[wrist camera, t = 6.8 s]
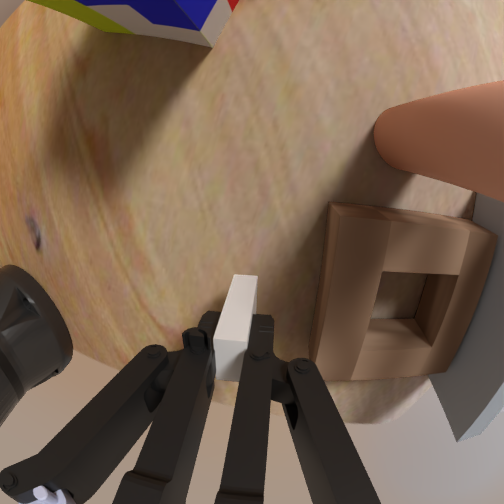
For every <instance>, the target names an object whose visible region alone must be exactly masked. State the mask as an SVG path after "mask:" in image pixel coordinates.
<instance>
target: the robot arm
mask: <svg viewBox="0 0 504 504" xmlns="http://www.w3.org/2000/svg"><path fill="white" fill-rule="evenodd" d="M257 280H258V276H253V275H237V274H234V277H233V280H232V283H231V286H230V289H229V292H228V295H227V298H226V301H225V304H224V307H223V310H222V312H215V311H207V312H206V313H205V314H204V315H202V318H201V320H200V322H199V325H198V327H194V328H190V329H187V330H185V331H184V332H183V334H182V338H183V344H184V349H183V350H180V351H173V352H167V350H166V348H165V347H163V346H161V345H157V344H155V345H149V346H146V347H145V348H143V349H142V350H141V351H140V352H139V353H138V354H137V355H136V356H135V357H134V358H133V359H132V360H131V361H130V362H129V363H128V364H127V365H126V366H125V367H124V368H123V369H122V370H121V371H120V372H119V373H118V374H117V375H116V376H115V377H114V378H113V379H112V380H111V381H110V382H109V383H108V384H107V385H106V386H105V387H104V388H103V389H102V390H101V391H100V392H99V393H98V394H97V395H96V396H95V397H94V398H93V399H92V400H91V401H90V402H89V403H88V404H87V405H86V406H85V407H84V408H83V409H82V410H81V411H80V412H79V413H78V414H77V415H76V416H75V417H74V418H73V419H72V420H71V421H70V422H69V423H68V424H67V425H66V426H65V427H64V428H63V429H62V430H61V431H60V432H59V433H58V434H57V435H56V436H55V437H54V438H53V439H52V440H51V441H50V442H49V443H48V444H47V445H46V446H45V447H44V448H43V449H42V450H41V451H40V452H39V453H38V454H36V455H34V456H32V457H30V458H28V459H25V460H23V461H21V462H18V463H16V464H14V465H11V466H9V467H7V468H5V469H3V470H2V471H1V472H0V488H1V489H2V491H3V492H4V493H6V494H7V495H8V496H10V497H11V498H13V499H14V500H16V501H17V502H18V503H19V504H84V503H85V502H86V501H87V500H89V499H90V498H91V497H92V496H93V495H94V494H95V492H97V490H98V489H99V488H100V487H101V485H102V484H103V483H104V482H105V480H106V479H107V478H108V477H109V475H110V474H111V473H112V472H113V470H114V469H115V468H116V467H117V466H118V464H119V463H120V462H121V461H122V459H123V458H124V457H125V455H126V454H127V453H128V452H129V451H130V449H131V448H132V447H133V445H134V444H135V443H136V441H137V440H138V439H139V438H140V436H141V435H142V434H143V433H144V431H145V430H146V429H147V428H148V426H149V425H150V424H151V422H152V421H153V422H152V425H151V427H150V430H149V432H148V435H147V437H146V440H145V442H144V445H143V447H142V450H141V452H140V455H139V457H138V460H137V462H136V465H135V467H134V469H133V470H131V471H128V472H126V473H125V475H124V476H123V478H122V480H121V483H120V485H119V488H118V490H117V493H116V496H115V498H114V501H113V503H112V504H185V502H186V497H187V493H188V489H189V485H190V481H191V477H192V473H193V469H194V465H195V461H196V457H197V454H198V450H199V446H200V442H201V438H202V434H203V430H204V426H205V422H206V418H207V414H208V410H209V406H210V403H211V399H212V395H213V391H214V378H215V374H216V379H218V380H226V381H236V382H239V386H238V392H237V397H236V403H235V408H234V414H233V419H232V425H231V430H230V436H229V442H228V447H227V453H226V458H225V463H224V468H223V474H222V479H221V484H220V489H219V491H218V493H217V495H216V499H215V503H214V504H263V501H264V482H265V472H266V460H267V447H268V432H269V418H270V403H271V400H273V401H277V402H280V403H282V406H283V410H284V413H285V416H286V420H287V423H288V426H289V429H290V433H291V436H292V439H293V442H294V445H295V449H296V452H297V455H298V458H299V462H300V464H301V468H302V471H303V474H304V477H305V480H306V484H307V487H308V490H309V493H310V496H311V499H312V502H313V504H381V502H380V500H379V498H378V496H377V494H376V491H375V489H374V487H373V485H372V483H371V481H370V478H369V476H368V474H367V472H366V470H365V467H364V466H363V463H362V461H361V459H360V457H359V455H358V453H357V450H356V448H355V446H354V444H353V442H352V440H351V437H350V435H349V433H348V431H347V429H346V427H345V425H344V422H343V420H342V418H341V416H340V414H339V412H338V410H337V408H336V405H335V403H334V401H333V399H332V397H331V395H330V393H329V391H328V389H327V386H326V384H325V382H324V380H323V378H322V376H321V374H320V372H319V370H318V368H317V366H316V364H315V363H314V362H313V361H311V360H309V359H306V358H297V359H293V360H292V361H291V362H285V361H283V360H280V359H279V358H277V357H276V356H275V354H274V353H273V339H274V319H273V318H272V316H271V315H261V314H256V306H257ZM72 355H73V348H72V342H71V338H70V335H69V332H68V330H67V327H66V325H65V323H64V321H63V319H62V317H61V315H60V313H59V311H58V309H57V308H56V306H55V305H54V303H53V302H52V300H51V299H50V297H49V296H48V294H47V293H46V292H45V290H44V289H43V288H42V287H41V286H40V284H39V283H38V282H37V281H36V280H35V279H34V278H33V277H32V276H31V275H30V274H28V273H27V272H26V271H24V270H23V269H21V268H19V267H17V266H15V265H6V266H4V267H2V268H1V269H0V426H1V425H2V424H3V422H4V421H5V419H6V418H7V417H8V415H9V414H10V412H11V411H12V410H13V408H14V407H15V406H16V405H17V403H18V402H19V401H20V399H21V398H22V397H23V396H24V394H25V393H26V392H27V391H28V390H30V389H32V388H34V387H36V386H37V385H39V384H41V383H43V382H45V381H47V380H48V379H50V378H51V377H53V376H56V375H58V374H60V373H61V372H62V371H63V370H64V368H65V367H66V366H67V365H68V364H69V362H70V361H71V359H72Z"/></svg>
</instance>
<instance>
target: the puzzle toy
mask: <svg viewBox="0 0 504 504" xmlns="http://www.w3.org/2000/svg"><path fill="white" fill-rule="evenodd" d="M28 1H31V2H34V3H37V4H40V5H42V6H45V7H48V8H51V9H53V10H56V11H59V12H61V13H64V14H66V15H68V16H71V17H73V18H76V19H78V20H80V21H82V22H85V23H87V24H89V25H91V26H93V27H96V28H98V29H100V30H102V31H104V32H114V33H127V34H137V35H146V36H154V37H160V38H167V39H173V40H178V41H184V42H189V43H193V44H198V45H202V46H207V47H211V48H213V47H214V45H215V43H216V41H217V39H218V37H219V35H220V34H221V32H222V30H223V28H224V26H225V24H226V22H227V20H228V19H229V17H230V15H231V13H232V12H233V10H234V8H235V6H236V5H237V3H238V1H239V0H28Z"/></svg>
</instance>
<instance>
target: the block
mask: <svg viewBox="0 0 504 504" xmlns="http://www.w3.org/2000/svg"><path fill="white" fill-rule="evenodd" d="M497 238H498V235H496V234H495V233H493V232H491V231H489V230H487V229H486V228H484V227H482V226H480V225H478V224H476V223H475V222H473V221H471V220H469V219H463V218H457V217H451V216H445V215H438V214H431V213H424V212H417V211H410V210H402V209H394V208H386V207H377V206H368V205H359V204H349V203H338V202H329V204H328V215H327V224H326V233H325V242H324V250H323V258H322V266H321V273H320V280H319V287H318V294H317V300H316V307H315V313H314V319H313V324H312V330H311V336H310V341H309V358H310V360H311V361H313V362H314V363H315V364H316V366H317V368H318V370H319V372H320V374H321V376H322V378H323V380H324V381H342V380H373V379H389V378H402V377H412V376H422V375H430V374H437V373H444V372H446V371H447V369H448V367H449V366H450V364H451V362H452V360H453V358H454V356H455V354H456V352H457V350H458V348H459V346H460V344H461V342H462V340H463V337H464V335H465V333H466V331H467V328H468V326H469V324H470V321H471V319H472V317H473V314H474V312H475V309H476V307H477V304H478V301H479V299H480V296H481V293H482V290H483V287H484V284H485V281H486V278H487V275H488V272H489V268H490V265H491V262H492V258H493V254H494V251H495V247H496V243H497ZM382 271H389V272H408V273H428V277H427V280H426V284H425V287H424V290H423V294H422V297H421V300H420V303H419V306H418V309H417V312H416V315H415V318H414V319H370V318H371V315H372V311H373V307H374V303H375V300H376V296H377V292H378V287H379V283H380V279H381V274H382Z"/></svg>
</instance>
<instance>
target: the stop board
mask: <svg viewBox="0 0 504 504" xmlns="http://www.w3.org/2000/svg"><path fill="white" fill-rule="evenodd" d="M472 221H473V222H475V223H476V224H478V225H480V226H482V227H484V228H486V229H487V230H489V231H491V232H493V233H495V234H496V235H498V238H497V243H496V247H495V251H494V254H493V258H492V262H491V265H490V268H489V272H488V275H487V278H486V281H485V284H484V287H483V290H482V293H481V296H480V299H479V301H478V304H477V307H476V309H475V312H474V314H473V317H472V319H471V321H470V324H469V326H468V328H467V331H466V333H465V335H464V337H463V340H462V342H461V344H460V346H459V348H458V350H457V352H456V354H455V356H454V358H453V360H452V362H451V364H450V366H449V367H448V369H447V371H446V372H444V373H437V374H430V375H428V377H429V379H430V381H431V383H432V385H433V387H434V389H435V391H436V393H437V396H438V398H439V400H440V403H441V405H442V407H443V409H444V412H445V414H446V417H447V419H448V421H449V424H450V426H451V429H452V431H453V434H454V437H455V439H456V442H459V441H462V440H465V439H468V438H471V437H474V436H476V435H479V434H481V433H482V432H483V431H484V430H485V429H486V427H487V426H488V425H489V424H490V423H491V421H492V420H493V419H494V418H495V417H496V415H497V414H498V413H499V412H500V410H501V409H502V408H503V407H504V202H501V201H499V200H496V199H494V198H491V197H488V196H485V195H483V194H480V193H477V194H476V201H475V207H474V213H473V218H472Z"/></svg>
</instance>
